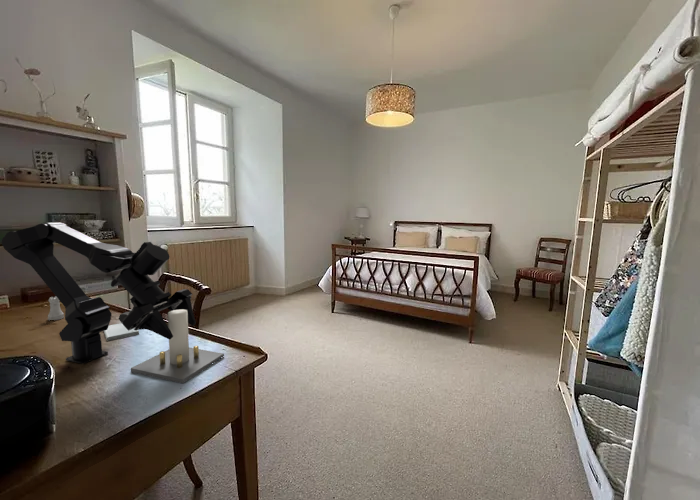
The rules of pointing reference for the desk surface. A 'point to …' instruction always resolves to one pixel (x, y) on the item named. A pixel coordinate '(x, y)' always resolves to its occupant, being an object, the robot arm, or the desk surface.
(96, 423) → the desk surface
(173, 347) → the cream post
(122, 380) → the desk surface
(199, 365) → the charcoal plate
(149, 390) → the desk surface
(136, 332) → the hard drive
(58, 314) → the rook chess piece
